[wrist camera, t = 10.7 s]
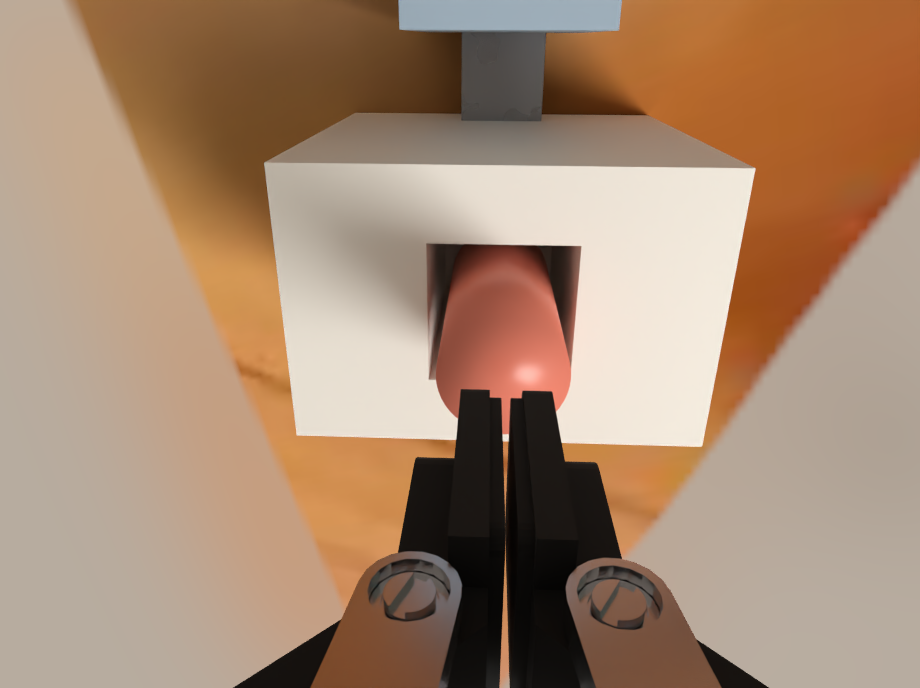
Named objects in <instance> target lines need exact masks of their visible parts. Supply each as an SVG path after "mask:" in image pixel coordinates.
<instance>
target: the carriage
mask: <svg viewBox="0 0 920 688" xmlns="http://www.w3.org/2000/svg"><path fill="white" fill-rule="evenodd" d="M398 1H399V30H408V31H419V32H446V33H453V32H543V33H586V32H602V31H618V30H619V24H620V14H621V4H622V0H398Z"/></svg>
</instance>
